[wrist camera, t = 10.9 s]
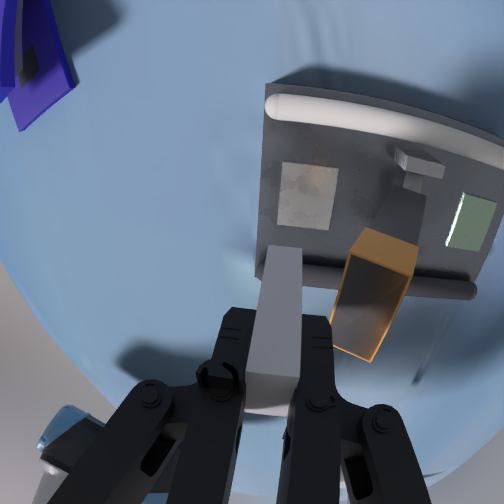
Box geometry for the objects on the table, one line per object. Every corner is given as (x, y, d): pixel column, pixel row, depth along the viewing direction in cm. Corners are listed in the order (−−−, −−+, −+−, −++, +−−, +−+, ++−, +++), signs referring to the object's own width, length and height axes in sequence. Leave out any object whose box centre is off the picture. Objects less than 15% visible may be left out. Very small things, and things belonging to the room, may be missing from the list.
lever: (379, 244, 23) (319, 351, 14) (399, 165, 19) (353, 232, 10) (408, 255, 22) (365, 372, 13) (432, 176, 18) (420, 257, 9)
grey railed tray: (256, 271, 26) (253, 284, 24) (266, 91, 18) (264, 93, 16) (468, 292, 24) (474, 304, 22) (520, 154, 16) (532, 161, 14)
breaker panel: (259, 252, 29) (250, 295, 24) (270, 83, 21) (261, 83, 15) (453, 273, 28) (475, 313, 22) (498, 136, 19) (539, 157, 13)
